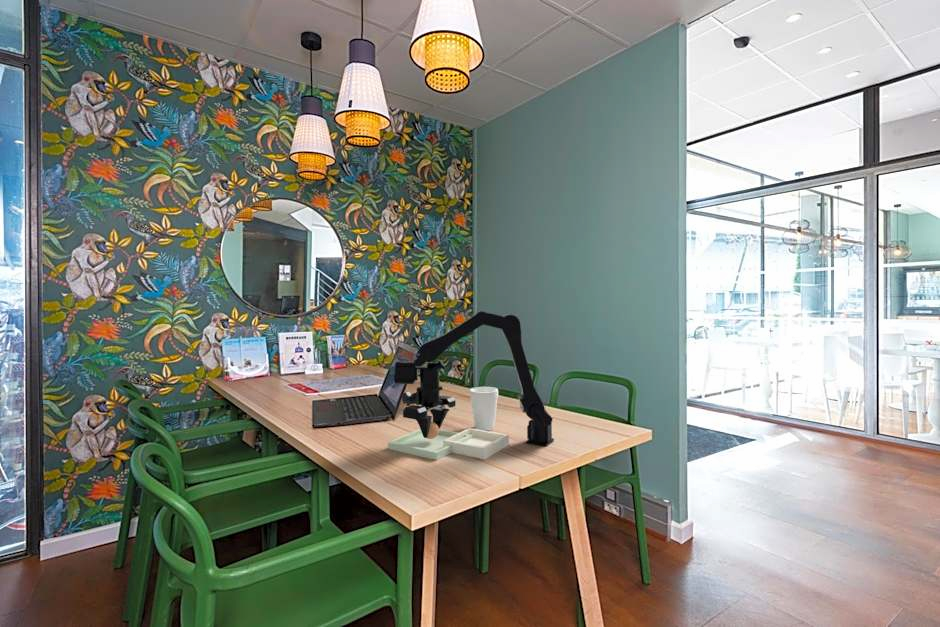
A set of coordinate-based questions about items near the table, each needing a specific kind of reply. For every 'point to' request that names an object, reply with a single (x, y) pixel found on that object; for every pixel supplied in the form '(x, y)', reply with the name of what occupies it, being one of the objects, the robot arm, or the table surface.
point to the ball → (433, 430)
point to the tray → (425, 444)
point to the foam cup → (484, 407)
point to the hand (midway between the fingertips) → (430, 435)
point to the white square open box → (477, 443)
